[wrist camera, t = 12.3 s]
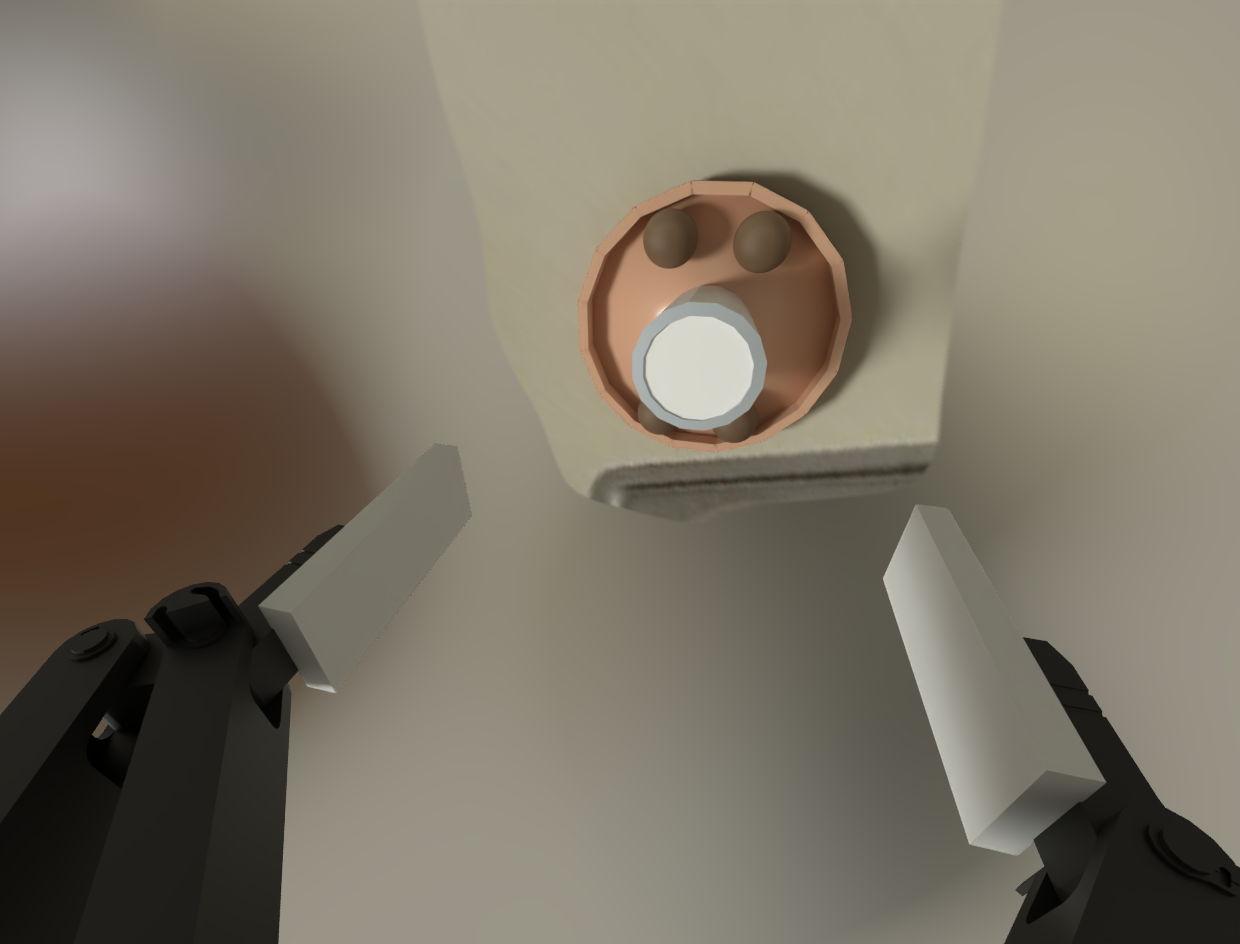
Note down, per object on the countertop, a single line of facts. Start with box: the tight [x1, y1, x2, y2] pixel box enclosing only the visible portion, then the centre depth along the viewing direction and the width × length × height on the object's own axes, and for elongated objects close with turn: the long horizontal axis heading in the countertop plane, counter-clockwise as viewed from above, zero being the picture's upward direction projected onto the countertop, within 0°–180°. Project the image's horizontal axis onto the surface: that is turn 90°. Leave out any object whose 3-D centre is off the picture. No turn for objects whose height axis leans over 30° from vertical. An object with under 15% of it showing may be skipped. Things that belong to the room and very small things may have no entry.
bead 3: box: [712, 405, 758, 443], centre depth 31 cm, size 3×3×3 cm
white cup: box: [632, 285, 767, 431], centre depth 27 cm, size 7×7×7 cm
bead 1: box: [643, 208, 698, 269], centre depth 26 cm, size 3×3×3 cm
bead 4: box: [733, 211, 792, 273], centre depth 25 cm, size 3×3×3 cm
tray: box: [578, 180, 852, 452], centre depth 30 cm, size 16×16×2 cm
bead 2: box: [638, 401, 676, 435], centre depth 32 cm, size 3×3×3 cm
